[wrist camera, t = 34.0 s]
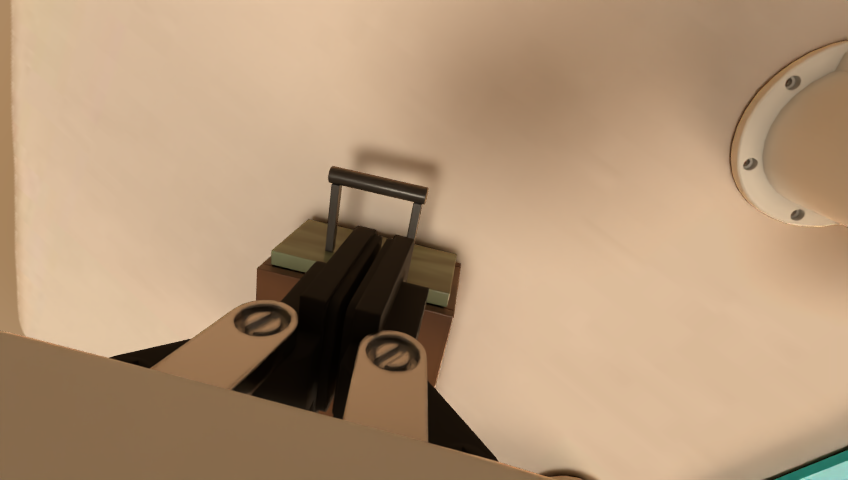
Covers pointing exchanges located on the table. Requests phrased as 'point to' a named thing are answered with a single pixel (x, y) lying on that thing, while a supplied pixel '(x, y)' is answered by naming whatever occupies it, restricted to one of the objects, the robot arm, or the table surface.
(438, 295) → the drawer
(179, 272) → the table surface
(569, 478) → the donut
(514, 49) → the table surface
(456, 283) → the cabinet
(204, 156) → the table surface
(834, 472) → the diskette
